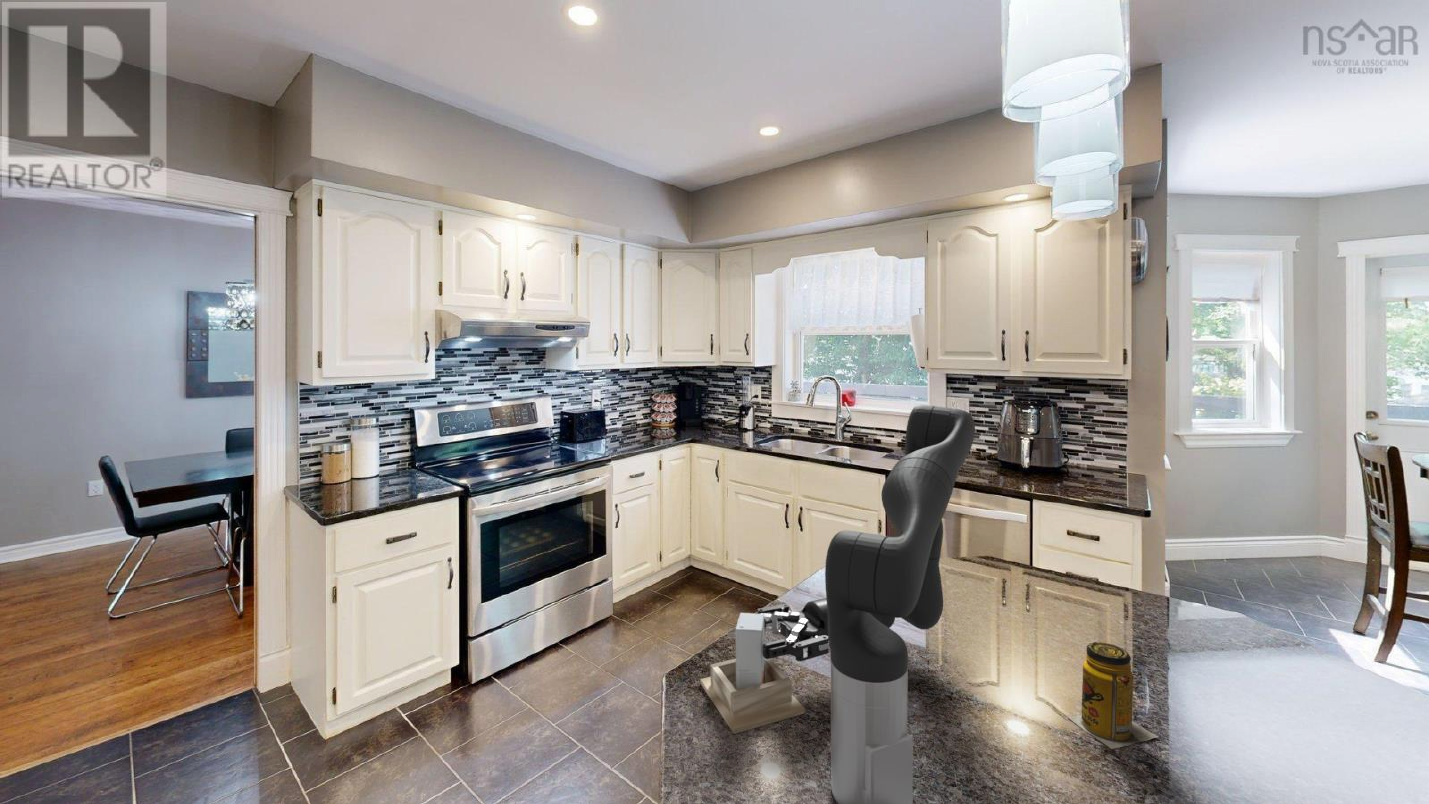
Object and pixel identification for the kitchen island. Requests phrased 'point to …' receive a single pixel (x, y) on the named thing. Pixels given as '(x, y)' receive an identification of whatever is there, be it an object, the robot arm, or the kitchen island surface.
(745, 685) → the skincare box
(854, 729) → the robot arm
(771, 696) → the block
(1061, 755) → the kitchen island surface
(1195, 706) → the kitchen island surface
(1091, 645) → the condiment
